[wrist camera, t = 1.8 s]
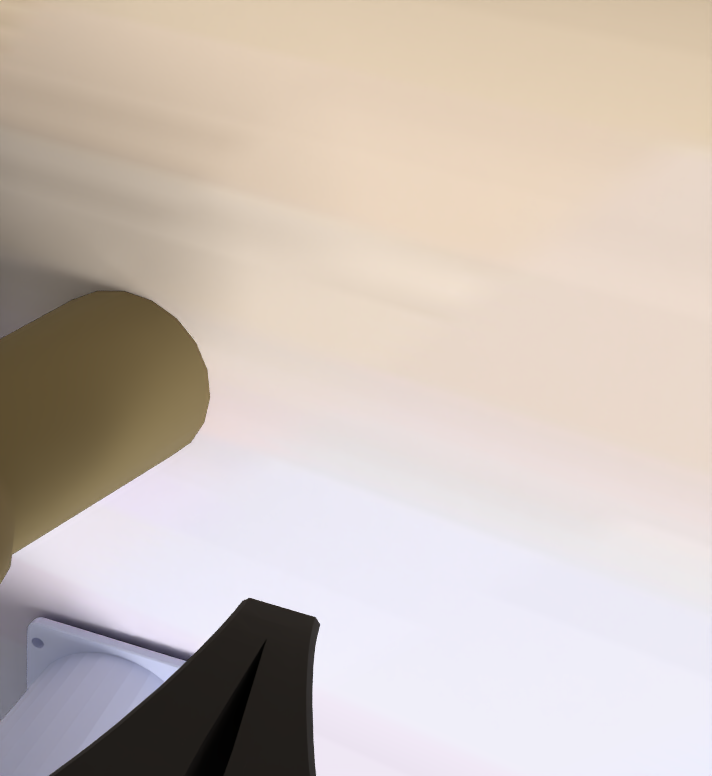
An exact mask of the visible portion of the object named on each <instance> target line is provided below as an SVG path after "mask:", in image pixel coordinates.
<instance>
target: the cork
mask: <svg viewBox="0 0 712 776" xmlns="http://www.w3.org/2000/svg"><path fill="white" fill-rule="evenodd" d="M209 400H210V392H209V382H208V372H207V368H206V366H205V363H204V361H203V359H202V356H201V354H200V351H199V349H198V347H197V344H196V342H195V341H194V340H193V339H192V337H191V336H190V335H189V334H188V332H187V331H186V330H185V328H184V327H183V326H182V325H181V323H180V322H179V321H178V320H177V319H176V318H175V317H174V316H172V315H171V314H169V313H168V312H167V311H165V310H164V309H162V308H161V307H160V306H158V305H157V304H156V303H154V302H153V301H151V300H148V299H145V298H142V297H139V296H136V295H133V294H131V293H128V292H125V291H96V292H93V293H90V294H87V295H84V296H82V297H79V298H76V299H73V300H71V301H69V302H68V303H66V304H64V305H62V306H60V307H58V308H57V309H55V310H53V311H51V312H49V313H47V314H45V315H44V316H42V317H40V318H38V319H36V320H34V321H33V322H31V323H29V324H27V325H25V326H23V327H21V328H20V329H18V330H16V331H14V332H12V333H10V334H9V335H7V336H5V337H3V338H1V339H0V584H1V582H2V580H3V579H4V577H5V575H6V573H7V572H8V570H9V568H10V565H11V558H12V554H14V553H16V552H17V551H19V550H20V549H22V548H24V547H25V546H27V545H29V544H30V543H32V542H33V541H35V540H37V539H38V538H40V537H41V536H43V535H45V534H46V533H48V532H49V531H51V530H53V529H54V528H56V527H58V526H59V525H61V524H62V523H64V522H66V521H67V520H69V519H70V518H72V517H74V516H75V515H77V514H78V513H80V512H82V511H83V510H85V509H87V508H88V507H90V506H91V505H93V504H95V503H96V502H98V501H99V500H101V499H103V498H104V497H106V496H108V495H109V494H111V493H112V492H114V491H116V490H117V489H119V488H120V487H122V486H124V485H125V484H127V483H128V482H130V481H132V480H133V479H135V478H137V477H138V476H140V475H141V474H143V473H145V472H146V471H148V470H149V469H151V468H153V467H154V466H156V465H157V464H159V463H161V462H162V461H164V460H166V459H167V458H169V457H170V456H172V455H173V454H175V453H176V452H178V451H179V450H181V449H182V448H183V447H185V446H186V445H188V444H189V443H191V441H192V440H193V438H194V437H195V435H196V434H197V432H198V431H199V429H200V428H201V426H202V425H203V423H204V421H205V417H206V413H207V408H208V404H209Z"/></svg>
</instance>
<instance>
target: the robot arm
mask: <svg viewBox="0 0 712 776" xmlns="http://www.w3.org/2000/svg"><path fill="white" fill-rule="evenodd" d="M319 627H320V623H319V622H318V620H317V619H316V617H313V616H309V615H306V614H303V613H299V612H296V611H292V610H289V609H286V608H282V607H279V606H275V605H272V604H269V603H265V602H262V601H258V600H255V599H252V598H248V599H246V600H244V601H242V602H241V604H240V605H239V606H238V607H237V609H236V610H235V611H234V612H233V613H232V614H231V616H230V617H229V618H228V619H227V620H226V621H225V622H224V623H223V625H222V626H221V627H220V628H219V629H218V630H217V631H216V632H215V633H214V634H213V635H212V636H211V637H210V638H209V639H208V640H207V641H206V642H205V643H204V645H203V646H202V647H201V648H200V649H199V650H198V651H197V652H196V653H195V654H194V655H192V656H191V657H190V658H189V659H188V660H187V661H184V660H181V659H178V658H174V657H171V656H168V655H164V654H161V653H158V652H155V651H151V650H148V649H145V648H142V647H138V646H135V645H132V644H128V643H125V642H122V641H119V640H115V639H112V638H109V637H106V636H102V635H99V634H96V633H93V632H89V631H86V630H83V629H79V628H76V627H73V626H70V625H66V624H63V623H60V622H57V621H53V620H50V619H47V618H42V617H38V618H35V619H34V620H33V621H32V622H31V623H30V624H29V625H28V628H27V691H26V692H25V693H24V694H23V696H22V697H21V698H20V699H19V700H18V702H17V703H16V704H15V705H14V706H13V707H12V709H11V710H10V711H9V712H8V713H7V714H6V716H5V717H4V718H3V719H2V720H1V722H0V776H316V771H315V759H314V743H313V712H312V683H313V663H314V653H315V645H316V639H317V635H318V631H319Z"/></svg>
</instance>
